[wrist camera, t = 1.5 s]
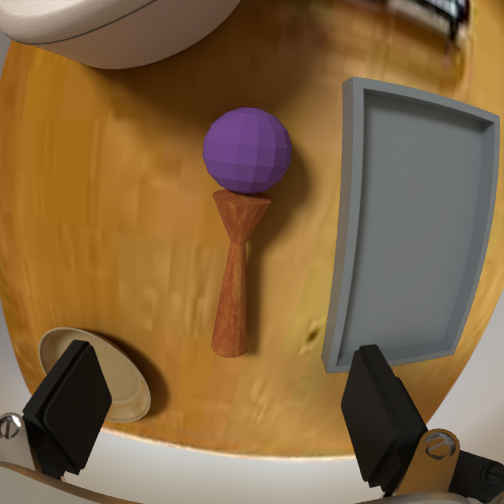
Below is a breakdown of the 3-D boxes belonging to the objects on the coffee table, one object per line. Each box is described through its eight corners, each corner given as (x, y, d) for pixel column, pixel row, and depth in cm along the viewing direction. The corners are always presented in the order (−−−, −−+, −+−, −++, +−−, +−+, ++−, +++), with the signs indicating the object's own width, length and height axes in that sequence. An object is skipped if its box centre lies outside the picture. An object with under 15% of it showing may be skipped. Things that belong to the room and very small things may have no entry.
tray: (342, 82, 20) (352, 76, 18) (482, 116, 20) (499, 116, 18) (321, 356, 29) (326, 373, 27) (443, 342, 29) (453, 354, 27)
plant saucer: (94, 413, 33) (88, 426, 31) (29, 331, 29) (18, 342, 26) (179, 400, 32) (175, 416, 29) (107, 298, 27) (97, 311, 24)
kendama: (187, 358, 24) (193, 102, 16) (207, 320, 30) (221, 107, 22) (255, 375, 24) (294, 110, 15) (266, 332, 29) (298, 115, 21)
